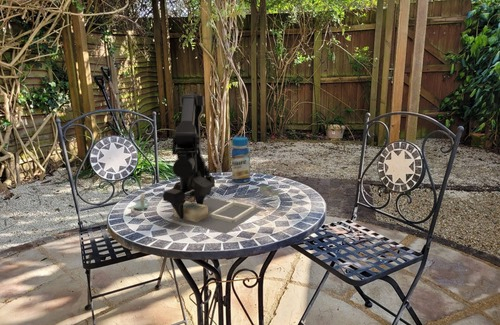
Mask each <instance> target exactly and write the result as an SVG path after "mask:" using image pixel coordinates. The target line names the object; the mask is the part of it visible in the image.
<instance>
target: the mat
mask: <svg viewBox="0 0 500 325" xmlns="http://www.w3.org/2000/svg"><path fill="white" fill-rule="evenodd" d="M203 205H206V206H208V216H207V217H205V218H204V219H202V220H200V221H198V222H194V221H190V220H186V219H181V218H179V217H175V216H174V214H172V215H170V216H168V217H167V218H168V219H171V220H174V221H178V222H181V223H185V224H189V225H192V226H197V227H200V228H203V229H207V230H212V231H215V232H218V233H220V234H221V233H222V234H228V233H230V232H231V231H232V230H234V229H235V228H237V227H238V226H240V225H241V224H243V223H244V222H246V221H247V220H249V219H250V218H252V217H254V216H256V214H258V213H260V212H261V211H263V210H264V209H263V208H261V207H260V208H259V207H257V206H256V205H254V204H253V205H252V204H248V203H245V202H244V203H243V202H239V201H234V200H233V201H227V200H221V199H218V198H217V199H216V198H212V197H207V198H206V199H205V198H204V201H203Z"/></svg>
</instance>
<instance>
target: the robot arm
mask: <svg viewBox="0 0 500 325" xmlns="http://www.w3.org/2000/svg"><path fill="white" fill-rule="evenodd" d="M179 103H180V104H179V105H180V107H181V109H182V110H181V118H180V123H179V125H177V126H176V127H175V131H174V134H173V135H172V150H171V151H172V155H176V156H177V159H176V160H175V162H174V163H173V165H172V170H173V173H174V174H175V175H176V176H177V177H179V182H180V184H178V188H181V190H176V189H173V188H171V189H168V190H166V191H164V192H163V193H162V200H163V201H165V202H168V203H169V204H170V205H171V206H172V208H173V207H174V209H175V210H176V212H177V214H178V215H179V217H180V218H181V219H183V216H184V210H183V204H184V203H185V202H186V198H185V196H186V194H187V196H191V197H193V196H194V197H195V203H197V204H201V205H203V201H204V200H205V197H206V195H209V194H210V193H211V192H212V189H213V188H214V187H215V186H216V184H215V183H216V181H215V177H214V176H213V175H211V174H210V169H209V168H208V165H206V164H207V163H206V160H205V159H204V157H203V155H202V148H201V145H202V144H201V127H200V125H201V124H200V122H201V121H200V117H201V115H202V113H203V111H204V107H205V96H204V95H202V94H201V93H184V94H183V95H180V96H179Z"/></svg>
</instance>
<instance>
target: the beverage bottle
mask: <svg viewBox="0 0 500 325" xmlns="http://www.w3.org/2000/svg"><path fill="white" fill-rule="evenodd" d="M231 141H232V143H231V144H232V150H231V151H230V155H231V158H230V162H231V183H233V184H235V185H238V186H239V185H240V186H242V185H243V186H244V185H247V184H249V183H251V167H250V166H251V164H250V163H251V157H250V154H251V152H250V149H249V148H248V146H249V139H248V137H246V136H234V137H232V139H231Z"/></svg>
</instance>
